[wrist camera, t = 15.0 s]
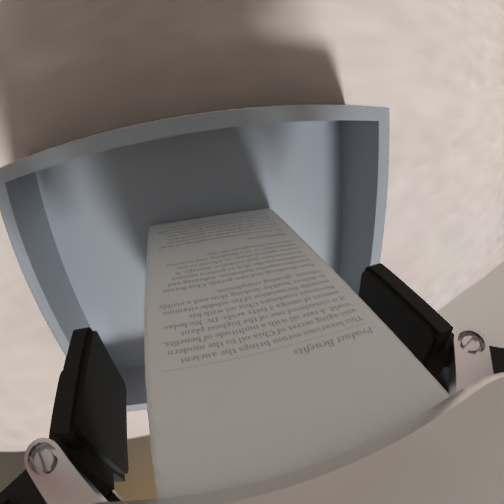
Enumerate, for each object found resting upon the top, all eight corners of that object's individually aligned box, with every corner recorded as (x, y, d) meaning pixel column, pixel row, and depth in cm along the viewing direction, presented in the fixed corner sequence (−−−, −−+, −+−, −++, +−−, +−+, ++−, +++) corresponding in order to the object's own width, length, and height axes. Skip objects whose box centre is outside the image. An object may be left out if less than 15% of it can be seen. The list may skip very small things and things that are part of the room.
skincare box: (163, 299, 15) (199, 541, 5) (147, 223, 13) (148, 511, 3) (274, 279, 17) (399, 474, 6) (274, 204, 15) (465, 399, 4)
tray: (345, 104, 14) (389, 108, 11) (337, 319, 20) (362, 351, 17) (25, 156, 10) (-10, 172, 7) (108, 371, 17) (105, 413, 14)
